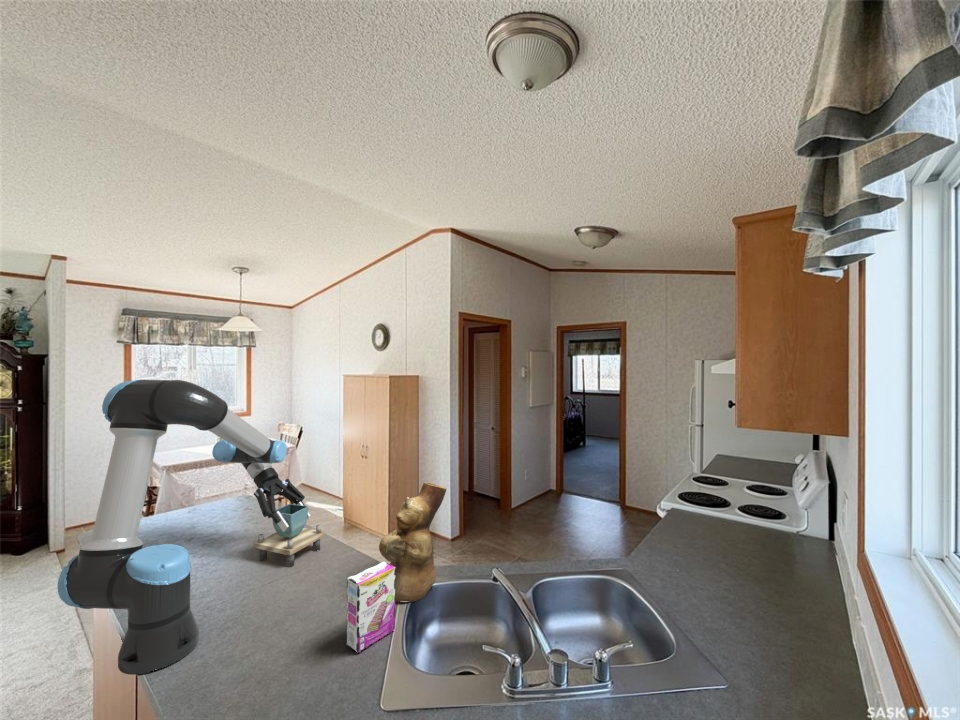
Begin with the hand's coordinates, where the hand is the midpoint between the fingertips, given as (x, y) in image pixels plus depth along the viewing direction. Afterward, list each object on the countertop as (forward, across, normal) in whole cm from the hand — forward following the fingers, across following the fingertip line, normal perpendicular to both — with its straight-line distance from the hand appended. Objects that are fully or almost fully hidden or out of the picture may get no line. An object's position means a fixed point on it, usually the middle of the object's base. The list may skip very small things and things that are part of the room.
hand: (297, 523), depth 145 cm
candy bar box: (+44, +26, +27) cm, 58 cm away
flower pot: (+1, 0, -5) cm, 5 cm away
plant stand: (+6, 0, -10) cm, 12 cm away
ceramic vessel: (+42, +2, +26) cm, 49 cm away
